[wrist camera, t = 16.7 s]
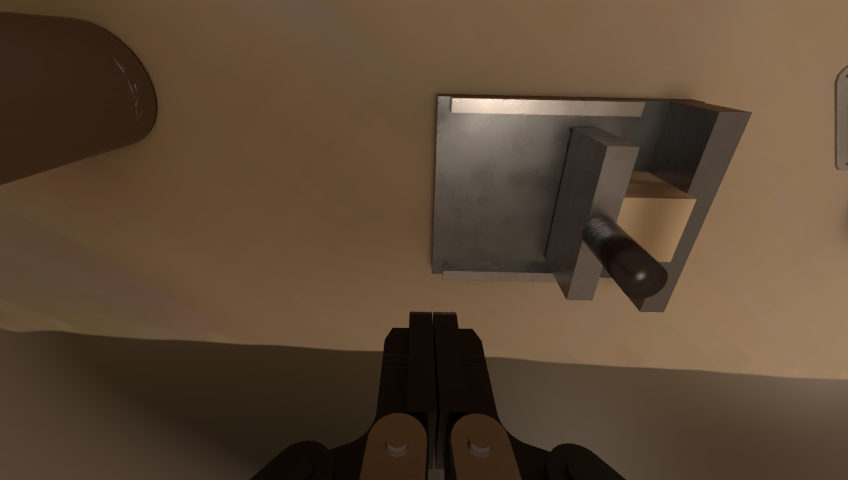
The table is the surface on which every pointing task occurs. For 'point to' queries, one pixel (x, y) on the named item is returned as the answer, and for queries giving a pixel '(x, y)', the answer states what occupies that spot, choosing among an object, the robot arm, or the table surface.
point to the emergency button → (841, 120)
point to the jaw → (598, 221)
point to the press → (559, 174)
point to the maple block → (655, 214)
